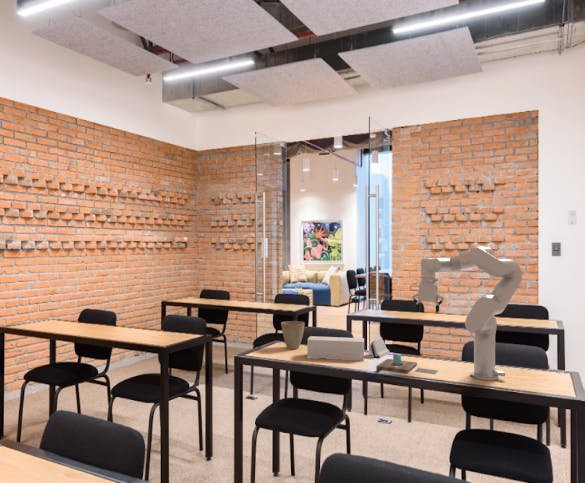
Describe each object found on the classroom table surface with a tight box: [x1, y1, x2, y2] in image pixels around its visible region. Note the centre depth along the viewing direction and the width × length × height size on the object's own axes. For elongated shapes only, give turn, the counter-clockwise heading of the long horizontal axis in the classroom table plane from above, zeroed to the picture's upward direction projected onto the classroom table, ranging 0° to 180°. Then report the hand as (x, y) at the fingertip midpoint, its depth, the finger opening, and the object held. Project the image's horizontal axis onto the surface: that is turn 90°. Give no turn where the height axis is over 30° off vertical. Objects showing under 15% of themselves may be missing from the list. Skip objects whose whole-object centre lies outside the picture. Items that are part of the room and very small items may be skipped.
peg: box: [392, 353, 402, 366], centre depth 235 cm, size 4×4×8 cm
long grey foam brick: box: [306, 335, 365, 362], centre depth 262 cm, size 32×11×11 cm, turn 80°
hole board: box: [376, 358, 418, 374], centre depth 235 cm, size 16×18×3 cm
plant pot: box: [280, 320, 306, 350], centre depth 286 cm, size 15×15×16 cm
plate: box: [414, 367, 439, 375], centre depth 228 cm, size 10×8×2 cm
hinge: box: [369, 339, 391, 359], centre depth 269 cm, size 17×5×10 cm, turn 148°
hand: (427, 312), depth 248 cm, fingers open, 9 cm apart
